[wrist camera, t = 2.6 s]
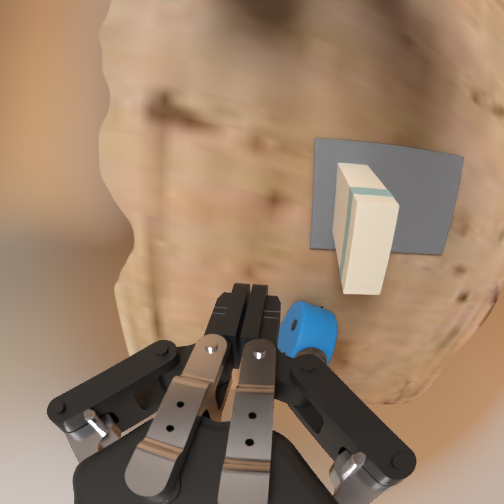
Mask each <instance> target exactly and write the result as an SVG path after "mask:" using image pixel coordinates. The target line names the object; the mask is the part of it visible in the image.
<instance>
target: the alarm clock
mask: <svg viewBox="0 0 504 504" xmlns="http://www.w3.org/2000/svg"><path fill="white" fill-rule="evenodd" d="M336 339H337V321H336V317H335V315H334V314H333V313H332V312H331V311H329V310H326V309H323V306H321V308H320V307H317V306H314V305H311V304H309V303H306V302H303V301H298V302H296V303H295V304H294V305H293V306H292V307H291V308H290V309H289V311H288V312H287V314H286V316H285V318H284V320H283V322H282V324H281V326H280V329H279V338H278V346H277V347H278V349H279V350H280V351H281V352H282V353H283V354H285V355H287V356H289V357H292V358H296V357H297V356H300V355H303V354H312V355H315V356H317V357H319V358H320V359H321V360H322V361H323V362H324V363H325V364H326V365H327V366H328V364H329V362H330V360H331V357H332V355H333V352H334V348H335V344H336Z"/></svg>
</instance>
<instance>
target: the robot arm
mask: <svg viewBox="0 0 504 504" xmlns="http://www.w3.org/2000/svg"><path fill="white" fill-rule="evenodd" d="M280 311H281V303H280V301H279V299H278V296H269V295H268V285H256V284H253V286H252V290H251V294H250V284H242V283H235V284H234V286H233V290H232V293H226V292H224V293H223V294H222V295H221V296H220V297H219V298H218V299H217V301H216V304H215V308H214V309H213V313H212V315H211V318H210V320H209V323H208V326H207V329H206V331H205V334H204V336H203V337H201V338H200V339H199V340H198V341H197V343H195V344H193V345H189V346H181V347H176V345H175V344H174V343H173V342H171V341H168V340H160V341H157V342H155V343H153V344H151V345H149V346H148V347H146V348H144V349H142V350H141V351H139V352H137V353H135V354H134V355H132V356H130V357H129V358H127V359H125V360H123V361H121V362H120V363H118V364H116V365H115V366H113V367H111V368H109V369H107V370H106V371H104V372H102V373H100V374H98V375H97V376H95V377H93V378H91V379H89V380H87V381H86V382H84V383H82V384H80V385H78V386H76V387H75V388H73V389H71V390H69V391H67V392H66V393H63V394H62V395H60V396H58V397H56V398H54V399H53V400H52V401H51V402H50V403H49V405H48V408H47V414H48V417H49V419H50V420H51V421H52V422H53V423H54V424H55V425H56V426H58V427H59V428H60V429H61V430H62V431H63V432H64V433H65V435H66V437H67V439H68V441H69V443H70V445H71V448H72V450H73V452H74V454H75V456H76V457H77V459H78V462H79V465H78V466H77V467H76V470H75V472H74V475H73V489H74V504H369V503H370V502H371V501H373V500H374V499H375V498H377V497H378V496H379V495H380V494H381V493H383V492H385V491H387V490H389V489H391V488H392V487H394V486H395V485H397V484H399V483H400V482H401V481H403V479H405V478H406V477H408V476H409V475H410V474H411V473H412V472H413V471H414V469H415V466H416V456H415V454H414V452H413V451H412V450H411V449H410V448H409V447H408V446H407V445H406V444H405V443H404V442H403V441H402V440H401V439H399V438H398V436H396V435H395V434H394V433H393V432H392V431H391V430H390V429H389V428H388V427H387V426H386V425H385V424H384V423H383V422H382V421H381V420H380V419H379V418H378V417H377V416H376V415H375V414H374V413H373V412H372V411H371V410H370V409H369V408H368V407H367V406H366V405H365V404H364V403H363V402H362V401H361V400H360V399H359V398H358V397H357V396H356V395H355V394H354V393H353V392H352V391H351V390H350V389H349V388H348V386H347V385H346V384H345V383H344V382H343V381H342V380H341V379H340V378H339V377H338V376H337V375H336V374H335V373H334V372H333V371H332V370H331V369H330V368H329V367H328V366H327V365H326V364H325V363H324V362H323V361H322V360H321V359H320V358H319V357H317V356H315V355H312V354H303V355H300V356H297V357H296V358H292V357H289V356H287V355H285V354H283V353H282V352H281V351H280V350H279V349H278V347H277V346H278V338H279V329H280ZM241 357H242V362H241ZM240 362H241V369H240V376H239V383H238V386H237V387H236V389H235V395H234V403H233V409H232V416H231V421H228V422H221V417H222V412H223V409H224V406H225V403H226V400H227V397H228V394H229V390H230V387H231V384H232V370H233V368H235V369H239V366H240ZM274 399H278V400H280V401H282V402H285V403H287V404H288V406H289V407H290V409H291V410H292V411H293V412H294V414H295V415H296V416H297V417H298V419H299V420H300V421H301V422H302V424H303V425H304V426H305V427H306V428H307V429H308V431H309V432H310V433H311V434H312V436H313V437H314V438H315V439H316V440H317V442H318V443H319V444H320V445H321V446H322V448H323V449H324V450H325V451H326V452H327V453H328V455H329V456H330V457H331V458H332V459H333V460H334V463H333V464H332V466H331V468H330V470H329V477H330V479H331V481H332V483H333V485H334V494H333V496H332V495H331V493H330V492H329V491H328V489H327V488H326V487H325V486H324V484H323V483H322V482H321V481H320V479H319V478H318V477H317V475H316V474H315V473H314V472H313V470H312V469H311V468H310V466H309V465H308V464H307V462H306V461H305V460H304V459H303V457H302V456H301V454H300V453H299V452H298V450H297V449H296V448H295V446H294V445H293V444H292V443H291V442H290V441H289V440H288V439H287V438H285V437H284V436H283V435H281V434H280V433H278V432H276V431H274V430H272V429H273V409H274ZM155 412H157V413H156V415H155V417H154V418H153V419H150V420H148V421H147V422H145V423H144V424H142V425H141V426H139V427H137V428H136V429H134V430H133V431H131V432H129V433H128V434H126V435H125V436H123V437H121V433H122V432H124V431H125V430H127V429H129V428H131V427H132V426H134V425H136V424H137V423H139V422H140V421H142V420H144V419H145V418H147V417H149V416H150V415H152V414H154V413H155Z"/></svg>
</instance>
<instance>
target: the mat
mask: <svg viewBox="0 0 504 504" xmlns="http://www.w3.org/2000/svg"><path fill="white" fill-rule="evenodd" d="M463 160H464V157H462V156H458V155H453V154H448V153H442V152H437V151H431V150H425V149H419V148H412V147H406V146H398V145H390V144H382V143H373V142H363V141H352V140H339V139H324V138H315V152H314V183H313V205H312V223H311V238H310V248H316V249H336V248H335V242H334V237H333V232H332V229H333V219H334V207H335V195H336V181H337V165H338V163H350V164H363V165H368V166H369V168H370V169H371V170H372V171H373V172H374V174H375V175H376V176H377V177H378V179H379V180H380V181H381V182H382V184H383V185H384V186H385V187H386V189H387V190H389V191H390V193H391V194H392V195H393V196H394V199H395V200H396V202H397V203H398V204H399V211H398V216H397V222H396V227H395V232H394V237H393V242H392V247H391V251H390V252H400V253H419V254H438V255H442V254H443V250H444V247H445V243H446V240H447V236H448V232H449V229H450V225H451V221H452V217H453V212H454V208H455V204H456V199H457V194H458V189H459V184H460V179H461V173H462V167H463Z"/></svg>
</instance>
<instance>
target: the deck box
mask: <svg viewBox="0 0 504 504" xmlns="http://www.w3.org/2000/svg"><path fill="white" fill-rule="evenodd" d="M398 211H399V204H398V203H397V202H396V200H395V199H394V196H393V195H392V194H391V193H390V191H389V190H387V189H386V187H385V186H384V185H383V184H382V182H381V181H380V180H379V179H378V177H377V176H376V175H375V174H374V172H373V171H372V170H371V169H370V168H369V166H368V165H363V164H350V163H338V165H337V181H336V195H335V207H334V219H333V229H332V232H333V237H334V242H335V248H336V253H337V259H338V264H339V273H340V279H341V282H342V288H343V294H369V295H380V292H381V288H382V284H383V280H384V276H385V272H386V268H387V264H388V260H389V256H390V251H391V247H392V242H393V237H394V232H395V227H396V222H397V216H398Z"/></svg>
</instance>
